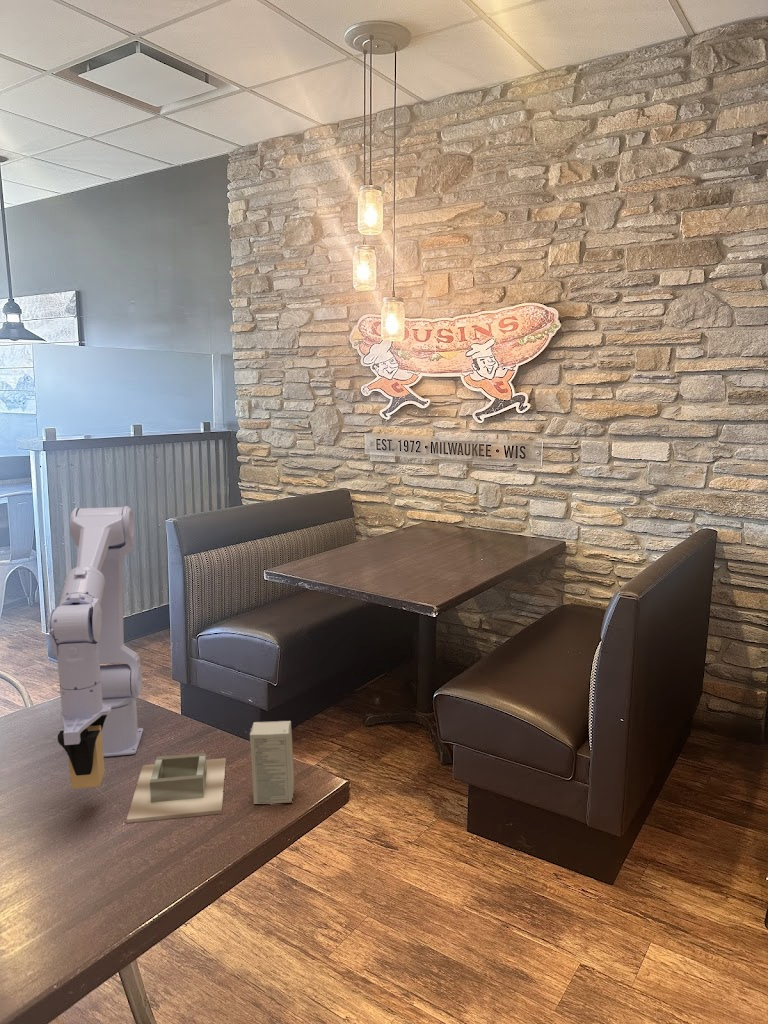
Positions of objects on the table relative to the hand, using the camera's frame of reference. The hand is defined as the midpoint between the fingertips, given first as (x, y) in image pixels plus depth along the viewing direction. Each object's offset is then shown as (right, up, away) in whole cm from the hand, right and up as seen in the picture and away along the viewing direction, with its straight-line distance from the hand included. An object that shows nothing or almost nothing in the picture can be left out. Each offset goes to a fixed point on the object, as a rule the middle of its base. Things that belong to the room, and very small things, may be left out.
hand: (87, 766), depth 111 cm
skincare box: (+28, -7, +5) cm, 29 cm away
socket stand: (+12, -6, +7) cm, 16 cm away
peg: (0, -2, 0) cm, 2 cm away
